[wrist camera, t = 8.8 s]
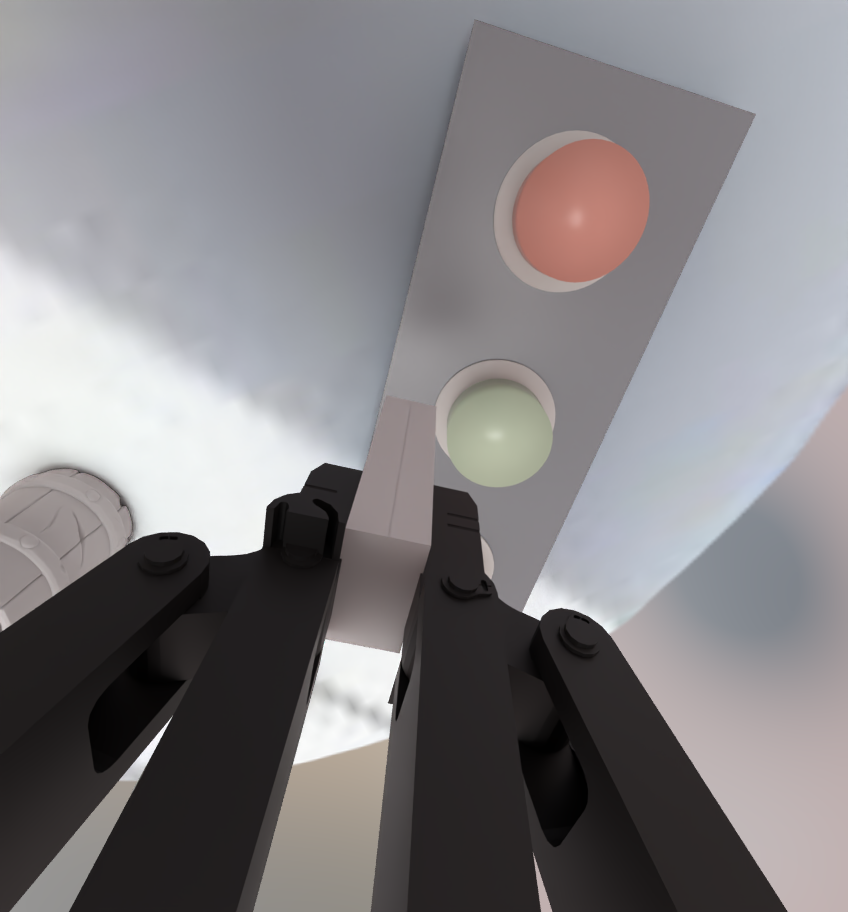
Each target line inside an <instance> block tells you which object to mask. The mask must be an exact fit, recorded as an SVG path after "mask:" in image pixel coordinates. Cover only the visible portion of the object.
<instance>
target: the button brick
mask: <svg viewBox="0 0 848 912" xmlns="http://www.w3.org/2000/svg"><path fill="white" fill-rule="evenodd" d="M648 214H649V188H648V184H647V180H646V177H645V174H644V172H643V170H642V168H641V166H640V165H639V163H638V161H637V160H636V159H635V158H634V157H633V155H632V154H630V153H629V152H628V151H627V150H626V149H624V148H623V147H621V146H619V145H618V144H615V143H613V142H610V141H606V140H602V139H584V140H580V141H575V142H572V143H570V144H567V145H565V146H563V147H561V148H560V149H558V150H556V151H555V152H553V153H552V154H551V155H549V156H548V157H546V158H545V159H544V160H542V161H541V162H540V163H539V164H537V165H536V166H535V167H534V168H533V169H532V171H531V172H530V173H529V174H528V175H527V177H526V178H525V180H524V181H523V183H522V185H521V187H520V189H519V191H518V193H517V196H516V199H515V203H514V207H513V214H512V228H513V235H514V239H515V242H516V245H517V247H518V249H519V251H520V253H521V255H522V256H523V257H524V259H525V260H526V261H527V262H528V263H529V264H530V265H531V266H532V267H533V268H534V269H536V270H537V271H539V272H541V273H543V274H545V275H547V276H549V277H552V278H554V279H557V280H560V281H565V282H574V283H576V282H586V281H591V280H594V279H597V278H600V277H602V276H604V275H606V274H608V273H609V272H611V271H612V270H614V269H615V268H617V267H618V266H619V265H620V264H621V263H622V262H623V261H624V260H625V259H626V258H627V257H628V256H629V255H630V254H631V252H632V251H633V250H634V248H635V247H636V245H637V244H638V242H639V240H640V238H641V236H642V234H643V232H644V229H645V226H646V223H647V218H648Z"/></svg>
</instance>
